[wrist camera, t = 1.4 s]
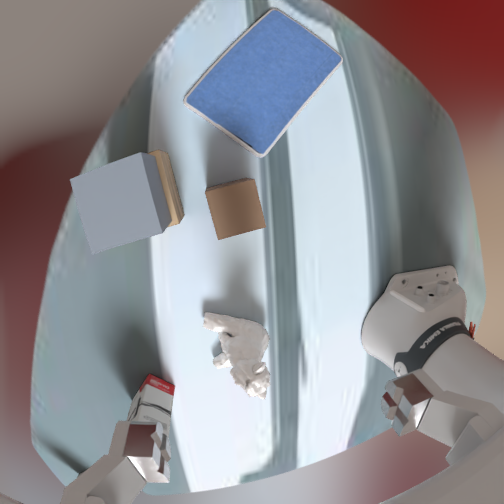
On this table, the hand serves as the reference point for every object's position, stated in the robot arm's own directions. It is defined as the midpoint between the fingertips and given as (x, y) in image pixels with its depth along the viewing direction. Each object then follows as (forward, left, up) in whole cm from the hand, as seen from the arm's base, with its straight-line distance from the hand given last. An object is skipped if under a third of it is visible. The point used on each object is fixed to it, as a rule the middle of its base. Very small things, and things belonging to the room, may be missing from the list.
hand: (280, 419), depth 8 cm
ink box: (+20, +22, -29) cm, 41 cm away
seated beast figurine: (+3, +14, -29) cm, 32 cm away
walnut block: (-1, -4, -29) cm, 29 cm away
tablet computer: (-10, -19, -30) cm, 36 cm away
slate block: (+9, -8, -23) cm, 26 cm away
